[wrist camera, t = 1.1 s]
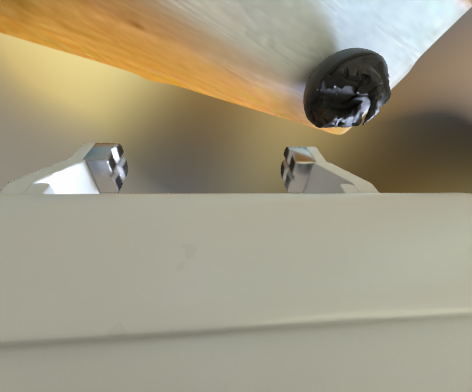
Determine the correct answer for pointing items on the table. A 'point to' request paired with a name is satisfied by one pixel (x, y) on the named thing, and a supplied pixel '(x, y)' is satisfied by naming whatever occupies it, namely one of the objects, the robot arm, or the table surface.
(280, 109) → the table surface
